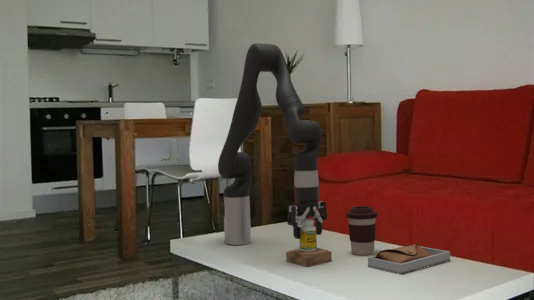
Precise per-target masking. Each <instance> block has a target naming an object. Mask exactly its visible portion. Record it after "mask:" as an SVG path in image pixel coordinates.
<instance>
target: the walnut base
mask: <svg viewBox="0 0 534 300" xmlns="http://www.w3.org/2000/svg"><path fill="white" fill-rule="evenodd" d="M285 254H286V255H285V257H286V260H285V261H286V262H287V263H291V264H294V265H298V266H301V267H307V268H310V267H313V266H317V265H321V264H322V265H323V264H327V263H330V262H333V261H332V259H333V258H332V257H333V256H332V251H329V249H324V248H321V247H317V250H316V251H313V252H303V251H301V250H300V247H299V248H293V249H290V250H288V251H285Z"/></svg>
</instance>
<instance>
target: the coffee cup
mask: <svg viewBox="0 0 534 300" xmlns="http://www.w3.org/2000/svg"><path fill="white" fill-rule="evenodd" d="M349 210H350V211H349ZM349 210H348V211H347V212H346V218H347V219H348V233H349V234H348V235H349V241H350V249H351V253H352V254H353V255H355V256H356V255H358V256H369V255H372V254H374V252H375V241H376V230H377V229H376V227H377V225H376V224H377V223H376V218H377V217H378V212H377V211H375V210H374V209H373V207H372V206H367V205H361V206H360V205H359V206H357V205H356V206H352V207H351V208H350V209H349Z"/></svg>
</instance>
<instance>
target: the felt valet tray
mask: <svg viewBox="0 0 534 300" xmlns="http://www.w3.org/2000/svg"><path fill="white" fill-rule="evenodd" d="M419 246H420V245H419ZM420 247H422V248H423V249H424V250H426V251H427V252H428V253H430V254H431V255H432V256H428V257H424V258H420V259H417V260H413V261H409V262H405V263H402V264H400V263H395V262H390V261H386V260H381V259H376V255H372V256H368V257H367V267H368V268H371V269H376V270H381V271H384V270H385V272H388V271H390V272H389V273H393V272H394V273H393V274H397V273H399V274H398V275H401V274H402V275H404V274H403V273H405V274H407V273H406V272H409V271H412V272H414V271H413V270H416V269H419V270H421V269H420V268H423V269H425V268H424V267H426V268H428V267H427V266H430V267H432V266H431V265H434V266H436V265H435V264H437V265H439V263H441V264H444V263H447V261H448V262H450V261H451V251H449V250H444V249H439V248H438V249H437V248H430V247H427V246H426V247H425V246H420ZM443 262H444V263H443ZM416 271H417V270H416ZM409 273H410V272H409Z"/></svg>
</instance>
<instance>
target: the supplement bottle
mask: <svg viewBox="0 0 534 300" xmlns="http://www.w3.org/2000/svg"><path fill="white" fill-rule="evenodd" d="M300 227H301V239H299V248H300V250H301V251H303V252H313V251H316V250H317V248H318V247H317V246H318V245H317V243H318V242H317V234H316V227H315V220H314V219H313V218H305V219H304V221H302V223H301V225H300Z"/></svg>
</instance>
